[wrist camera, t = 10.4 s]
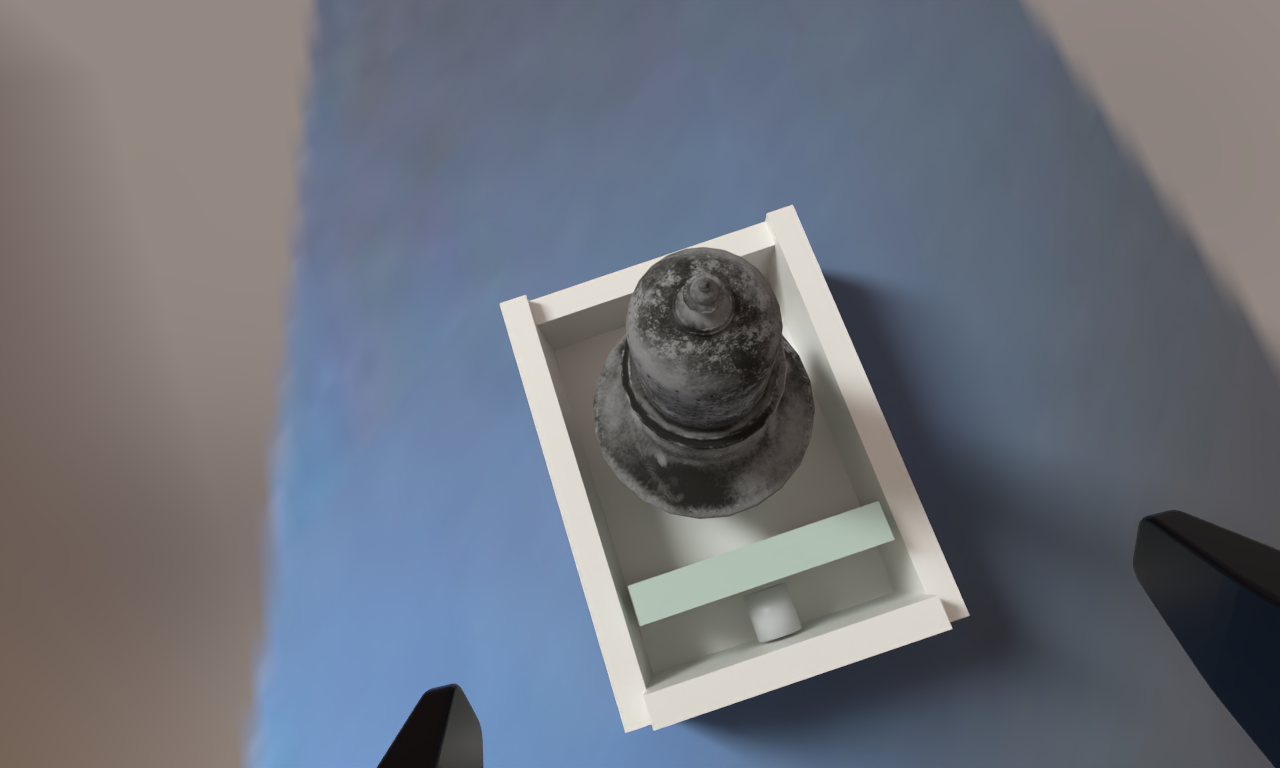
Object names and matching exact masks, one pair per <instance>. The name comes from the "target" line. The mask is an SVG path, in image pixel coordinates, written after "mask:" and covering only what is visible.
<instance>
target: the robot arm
mask: <svg viewBox="0 0 1280 768" xmlns="http://www.w3.org/2000/svg"><path fill="white" fill-rule="evenodd" d="M1133 567H1134V572H1135V575H1136V577H1137V579H1138V581H1139V583H1140V584H1141V586H1142V587H1143V589H1144V590H1145V592H1146V593H1147V595H1148V596H1149V598H1150V599H1151V601H1152V602H1153V604H1154V605H1155V607H1156V608H1157V610H1158V611H1159V613H1160V614H1161V616H1162V617H1163V619H1164V620H1165V622H1166V623H1167V625H1168V626H1169V628H1170V629H1171V631H1172V632H1173V634H1174V635H1175V637H1176V638H1177V640H1178V641H1179V643H1180V644H1181V646H1182V647H1183V649H1184V650H1185V652H1186V653H1187V655H1188V656H1189V658H1190V659H1191V661H1192V662H1193V663H1194V665H1195V666H1196V668H1197V669H1198V671H1199V672H1200V674H1201V675H1202V677H1203V678H1204V679H1205V681H1206V682H1207V684H1208V685H1209V686H1210V688H1211V689H1212V691H1213V692H1214V693H1215V694H1216V696H1217V697H1218V698H1219V699H1220V701H1221V702H1222V703H1223V705H1224V706H1225V707H1226V708H1227V710H1228V711H1229V712H1230V713H1231V714H1232V716H1233V717H1234V718H1235V719H1236V721H1237V722H1238V723H1239V724H1240V725H1241V727H1242V728H1243V729H1244V730H1245V732H1246V733H1247V734H1248V735H1249V736H1250V738H1251V739H1252V740H1253V741H1254V743H1255V744H1256V745H1257V746H1258V747H1259V749H1260V750H1261V751H1262V752H1263V754H1264V755H1265V756H1266V757H1267V758H1268V760H1269V761H1270V762H1271V763H1272V765H1273V766H1274V767H1275V768H1280V550H1278V549H1275V548H1273V547H1270V546H1268V545H1265V544H1263V543H1260V542H1258V541H1255V540H1253V539H1250V538H1248V537H1245V536H1243V535H1240V534H1238V533H1235V532H1233V531H1230V530H1228V529H1225V528H1223V527H1220V526H1217V525H1215V524H1212V523H1210V522H1207V521H1205V520H1202V519H1200V518H1197V517H1195V516H1192V515H1190V514H1187V513H1185V512H1181V511H1177V510H1170V511H1165V512H1161V513H1157V514H1153V515H1149V516H1146V517H1144V518H1143V519H1142V520H1141V521H1140V523H1139V526H1138V532H1137V539H1136V545H1135V551H1134V558H1133ZM377 768H483V740H482V731H481V726H480V723H479V721H478V718H477V716H476V715H475V713H474V711H473V709H472V707H471V705H470V703H469V701H468V700H467V698H466V696H465V694H464V692H463V690H462V689H461V687H460V686H459V685H457V684H449V685H445V686H441V687H436V688H432V689H430V690H428V691H426V692H425V693H424V694H423V696H422V697H421V698H420V700H419V702H418V703H417V705H416V706H415V708H414V710H413V711H412V713H411V714H410V716H409V717H408V719H407V721H406V722H405V724H404V725H403V727H402V729H401V730H400V732H399V733H398V735H397V736H396V738H395V740H394V741H393V743H392V744H391V746H390V748H389V749H388V751H387V752H386V754H385V755H384V757H383V759H382V760H381V762H380V763H379V765H378V767H377Z"/></svg>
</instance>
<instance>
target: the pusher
mask: <svg viewBox="0 0 1280 768" xmlns="http://www.w3.org/2000/svg"><path fill="white" fill-rule="evenodd" d="M893 540H895V539H894V537H893V534H892V532H891V529H890V527H889V524H888V522H887V520H886V517H885V515H884V512H883V510H882V508H881V505H880V503H879V501H877V502H874V503H871V504H868V505H865V506H862V507H859V508H856V509H853V510H850V511H847V512H844V513H841V514H838V515H835V516H832V517H830V518H827V519H824V520H821V521H818V522H815V523H812V524H809V525H806V526H803V527H800V528H797V529H794V530H791V531H788V532H785V533H782V534H779V535H777V536H774V537H771V538H768V539H765V540H762V541H759V542H756V543H753V544H750V545H747V546H744V547H741V548H738V549H735V550H732V551H729V552H726V553H724V554H721V555H718V556H715V557H712V558H709V559H706V560H703V561H700V562H697V563H694V564H691V565H688V566H685V567H682V568H679V569H676V570H673V571H671V572H668V573H665V574H662V575H659V576H656V577H653V578H650V579H647V580H644V581H641V582H638V583H635V584H632V585H629V586H628V589H629V592H630V596H631V599H632V602H633V605H634V608H635V612H636V615H637V618H638V621H639V625H640V626H643V625H645V624H648V623H651V622H654V621H657V620H660V619H663V618H666V617H669V616H672V615H675V614H678V613H681V612H684V611H687V610H690V609H693V608H695V607H698V606H701V605H704V604H707V603H710V602H713V601H716V600H719V599H722V598H725V597H728V596H731V595H734V594H737V593H740V592H743V591H745V590H748V589H751V588H754V587H757V586H760V585H763V584H766V583H769V582H772V581H775V580H778V579H781V578H784V577H787V576H790V575H793V574H795V573H798V572H801V571H804V570H807V569H810V568H813V567H816V566H819V565H822V564H825V563H828V562H831V561H834V560H837V559H840V558H843V557H846V556H848V555H851V554H854V553H857V552H860V551H863V550H866V549H869V548H872V547H875V546H878V545H881V544H884V543H887V542H890V541H893Z"/></svg>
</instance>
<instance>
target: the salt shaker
mask: <svg viewBox="0 0 1280 768" xmlns="http://www.w3.org/2000/svg"><path fill="white" fill-rule="evenodd" d="M625 322H626V334H625V335H624V337H623V338H622V339H621V340H620V341H619V342H618V343H617V345H616V346H615V347H614V348H613V349H612V350H611V352H610V353H609V356H608V358H607V360H606V362H605V364H604V366H603V368H602V370H601V372H600V374H599V376H598V380H597V385H596V390H595V395H594V400H593V414H594V428H595V434H596V436H597V439H598V442H599V445H600V448H601V451H602V454H603V456H604V459H605V460H606V462H607V463H608V465H609V466H610V467H611V469H612V470H613V472H614V473H615V475H616V476H617V478H618V479H619V481H620V482H621V483H622V484H623V485H625V486H626V487H627V488H628V489H629V490H630V491H632V492H633V493H634V494H635V495H636V496H638V497H639V498H640V499H641V500H642V501H644V502H646V503H648V504H650V505H652V506H654V507H657V508H659V509H661V510H663V511H665V512H667V513H669V514H674V515H680V516H685V517H691V518H697V519H705V518H716V517H726V516H731V515H734V514H737V513H739V512H742V511H745V510H747V509H750V508H753V507H755V506H758V505H759V504H761V503H762V502H763V501H765V500H766V499H767V498H769V497H770V496H772V495H773V494H774V493H776V492H777V491H779V490H780V489H781V488H782V487H783V486H784V485H785V483H786V482H787V481H788V480H789V478H790V477H791V476H792V475H793V473H794V472H795V471H796V470H797V468H798V467H799V466H800V464H801V462H802V459H803V457H804V455H805V452H806V450H807V448H808V445H809V443H810V440H811V438H812V430H813V422H814V413H815V406H814V400H813V393H812V387H811V381H810V379H809V376H808V374H807V372H806V370H805V367H804V365H803V363H802V361H801V358H800V356H799V355H798V353H797V352H796V351H795V350H794V348H793V347H792V346H791V345H790V344H789V342H788V341H787V340H786V339H785V337H784V336H783V335H782V329H783V324H782V318H781V311H780V306H779V303H778V300H777V298H776V296H775V294H774V292H773V289H772V287H771V285H770V283H769V282H768V281H767V280H766V278H765V277H764V276H763V275H762V273H761V272H760V271H759V270H758V269H757V268H756V267H755V266H753V265H752V264H751V263H749V262H748V261H746V260H745V259H744V258H742V257H740V256H738V255H735V254H733V253H730V252H728V251H726V250H722V249H715V248H708V247H699V248H690V249H684V250H681V251H678V252H675V253H673V254H670V255H667V256H666V257H664V258H663V259H661V260H660V261H658V262H657V263H655V264H654V265H652V266H651V267H650V268H649V269H648V271H647V272H646V273H645V274H644V275H643V276H642V278H641V279H640V280H639V281H638V283H637V286H636V288H635V290H634V292H633V294H632V296H631V298H630V301H629V305H628V310H627V316H626V321H625Z"/></svg>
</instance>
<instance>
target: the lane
mask: <svg viewBox="0 0 1280 768" xmlns="http://www.w3.org/2000/svg"><path fill="white" fill-rule="evenodd" d="M699 247H708V248H715V249H722V250H726V251H728V252H730V253H733V254H735V255H738V256H740V257H742V258H744V259H745V260H746V261H748V262H749V263H751V264H752V265H753V266H755V267H756V268H757V269H758V270H759V271H760V272H761V273H762V275H763V276H764V277H765V278H766V280H767V281H768V282H769V283H770V285H771V287H772V289H773V292H774V294H775V296H776V298H777V300H778V303H779V306H780V311H781V318H782V324H783V329H782V335H783V336H784V337H785V339H786V340H787V341H788V342H789V344H790V345H791V346H792V347H793V348H794V350H795V351H796V352H797V353H798V355H799V356H800V358H801V361H802V363H803V365H804V367H805V370H806V372H807V374H808V376H809V379H810V381H811V387H812V393H813V400H814V406H815V413H814V422H813V430H812V438H811V440H810V443H809V445H808V448H807V450H806V452H805V455H804V457H803V459H802V462H801V464H800V466H799V467H798V468H797V470H796V471H795V472H794V473H793V475H792V476H791V477H790V478H789V480H788V481H787V482H786V483H785V485H784V486H783V487H782V488H781V489H780V490H779V491H777V492H776V493H774V494H773V495H772V496H770V497H769V498H767V499H766V500H765V501H763V502H762V503H761V504H759V505H758V506H755V507H753V508H750V509H747V510H745V511H742V512H739V513H737V514H734V515H731V516H726V517H716V518H705V519H697V518H691V517H685V516H680V515H674V514H669V513H667V512H665V511H663V510H661V509H659V508H657V507H654V506H652V505H650V504H648V503H646V502H644V501H642V500H641V499H640V498H639V497H638V496H636V495H635V494H634V493H633V492H632V491H630V490H629V489H628V488H627V487H626V486H625V485H623V484H622V483H621V482H620V481H619V479H618V478H617V476H616V475H615V473H614V472H613V470H612V469H611V467H610V466H609V465H608V463H607V462H606V460H605V459H604V456H603V454H602V451H601V448H600V445H599V442H598V439H597V436H596V434H595V428H594V414H593V400H594V395H595V390H596V385H597V380H598V376H599V374H600V372H601V370H602V368H603V366H604V364H605V362H606V360H607V358H608V356H609V353H610V352H611V350H612V349H613V348H614V347H615V346H616V345H617V343H618V342H619V341H620V340H621V339H622V338H623V337H624V335H625V334H626V322H625V321H626V316H627V310H628V305H629V301H630V298H631V296H632V294H633V292H634V290H635V288H636V286H637V283H638V281H639V280H640V279H641V278H642V276H643V275H644V274H645V273H646V272H647V271H648V269H649V268H650V267H651V266H652V265H654V264H655V263H657V262H658V261H660V260H661V259H663V258H664V257H666V256H667V255H665V256H662V257H659V258H656V259H653V260H650V261H647V262H644V263H641V264H638V265H635V266H632V267H629V268H626V269H623V270H620V271H617V272H614V273H611V274H608V275H605V276H602V277H599V278H596V279H593V280H590V281H588V282H585V283H582V284H579V285H576V286H573V287H570V288H567V289H564V290H561V291H558V292H555V293H552V294H549V295H546V296H543V297H540V298H537V299H534V300H531V301H529V299H528V298H527V296H526V295H524V296H521V297H518V298H515V299H512V300H509V301H506V302H503V303H500V307H501V310H502V314H503V317H504V321H505V324H506V327H507V331H508V334H509V338H510V341H511V344H512V348H513V351H514V355H515V358H516V361H517V365H518V368H519V372H520V375H521V379H522V382H523V385H524V389H525V392H526V396H527V399H528V402H529V406H530V409H531V413H532V416H533V419H534V423H535V426H536V430H537V433H538V436H539V440H540V443H541V447H542V450H543V453H544V457H545V460H546V464H547V467H548V471H549V474H550V477H551V481H552V484H553V488H554V491H555V494H556V498H557V501H558V505H559V508H560V511H561V515H562V518H563V522H564V525H565V528H566V532H567V535H568V539H569V542H570V546H571V549H572V552H573V556H574V559H575V563H576V566H577V569H578V573H579V576H580V580H581V583H582V586H583V590H584V593H585V597H586V600H587V603H588V607H589V610H590V614H591V617H592V620H593V624H594V627H595V631H596V634H597V638H598V641H599V644H600V648H601V651H602V655H603V658H604V661H605V665H606V668H607V672H608V675H609V678H610V682H611V685H612V689H613V692H614V695H615V699H616V702H617V706H618V709H619V712H620V716H621V719H622V723H623V726H624V730H625V733H627V732H630V731H633V730H636V729H639V728H642V727H645V726H647V725H650V724H652V727H653V730H657V729H660V728H663V727H666V726H669V725H672V724H675V723H678V722H681V721H684V720H687V719H690V718H693V717H696V716H698V715H701V714H704V713H707V712H710V711H713V710H716V709H719V708H722V707H725V706H728V705H731V704H734V703H737V702H740V701H743V700H745V699H748V698H751V697H754V696H757V695H760V694H763V693H766V692H769V691H772V690H775V689H778V688H781V687H784V686H787V685H789V684H792V683H795V682H798V681H801V680H804V679H807V678H810V677H813V676H816V675H819V674H822V673H825V672H828V671H831V670H833V669H836V668H839V667H842V666H845V665H848V664H851V663H854V662H857V661H860V660H863V659H866V658H869V657H872V656H875V655H878V654H880V653H883V652H886V651H889V650H892V649H895V648H898V647H901V646H904V645H907V644H910V643H913V642H916V641H919V640H922V639H924V638H927V637H930V636H933V635H936V634H939V633H942V632H945V631H948V630H951V629H952V626H951V624H950V622H953V621H956V620H959V619H962V618H965V617H967V616H970V615H969V613H968V610H967V608H966V606H965V604H964V601H963V599H962V597H961V594H960V592H959V590H958V587H957V585H956V583H955V580H954V578H953V576H952V573H951V571H950V569H949V566H948V564H947V562H946V559H945V557H944V555H943V552H942V550H941V548H940V545H939V543H938V541H937V539H936V536H935V534H934V532H933V529H932V527H931V525H930V522H929V520H928V518H927V515H926V513H925V511H924V508H923V506H922V504H921V501H920V499H919V497H918V494H917V492H916V490H915V487H914V485H913V483H912V480H911V478H910V476H909V474H908V471H907V469H906V467H905V464H904V462H903V460H902V457H901V455H900V453H899V450H898V448H897V446H896V443H895V441H894V439H893V436H892V434H891V432H890V429H889V427H888V425H887V422H886V420H885V418H884V415H883V413H882V411H881V408H880V406H879V404H878V402H877V399H876V397H875V395H874V392H873V390H872V388H871V385H870V383H869V381H868V378H867V376H866V374H865V371H864V369H863V367H862V364H861V362H860V360H859V357H858V355H857V353H856V350H855V348H854V346H853V343H852V341H851V339H850V337H849V334H848V332H847V330H846V327H845V325H844V323H843V320H842V318H841V316H840V313H839V311H838V309H837V306H836V304H835V302H834V299H833V297H832V295H831V292H830V290H829V288H828V285H827V283H826V281H825V278H824V276H823V274H822V272H821V269H820V267H819V265H818V262H817V260H816V258H815V255H814V253H813V251H812V248H811V246H810V244H809V241H808V239H807V237H806V234H805V232H804V230H803V227H802V225H801V223H800V220H799V218H798V216H797V213H796V211H795V209H794V207H793V205H791V206H788V207H785V208H782V209H779V210H776V211H773V212H770V213H767V215H766V220H765V222H762V223H759V224H757V225H754V226H751V227H748V228H745V229H742V230H739V231H736V232H733V233H730V234H727V235H724V236H721V237H718V238H715V239H712V240H709V241H706V242H703V243H700V244H697V245H694V246H691V247H688V248H685V249H690V248H699ZM682 250H684V249H682ZM679 251H681V250H679ZM676 252H678V251H676ZM673 253H675V252H673ZM673 253H671V254H673ZM668 255H670V254H668ZM877 501H879V503H880V505H881V508H882V510H883V512H884V515H885V517H886V520H887V522H888V524H889V527H890V529H891V532H892V534H893V537H894V539H895V540H893V541H890V542H887V543H884V544H881V545H878V546H875V547H872V548H869V549H866V550H863V551H860V552H857V553H854V554H851V555H848V556H846V557H843V558H840V559H837V560H834V561H831V562H828V563H825V564H822V565H819V566H816V567H813V568H810V569H807V570H804V571H801V572H798V573H795V574H793V575H790V576H787V577H784V578H781V579H778V580H775V581H772V582H769V583H766V584H763V585H760V586H757V587H754V588H751V589H748V590H745V591H743V592H740V593H737V594H734V595H731V596H728V597H725V598H722V599H719V600H716V601H713V602H710V603H707V604H704V605H701V606H698V607H695V608H693V609H690V610H687V611H684V612H681V613H678V614H675V615H672V616H669V617H666V618H663V619H660V620H657V621H654V622H651V623H648V624H645V625H643V626H640V625H639V621H638V618H637V615H636V612H635V608H634V605H633V602H632V599H631V596H630V592H629V589H628V586H629V585H632V584H635V583H638V582H641V581H644V580H647V579H650V578H653V577H656V576H659V575H662V574H665V573H668V572H671V571H673V570H676V569H679V568H682V567H685V566H688V565H691V564H694V563H697V562H700V561H703V560H706V559H709V558H712V557H715V556H718V555H721V554H724V553H726V552H729V551H732V550H735V549H738V548H741V547H744V546H747V545H750V544H753V543H756V542H759V541H762V540H765V539H768V538H771V537H774V536H777V535H779V534H782V533H785V532H788V531H791V530H794V529H797V528H800V527H803V526H806V525H809V524H812V523H815V522H818V521H821V520H824V519H827V518H830V517H832V516H835V515H838V514H841V513H844V512H847V511H850V510H853V509H856V508H859V507H862V506H865V505H868V504H871V503H874V502H877Z"/></svg>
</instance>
